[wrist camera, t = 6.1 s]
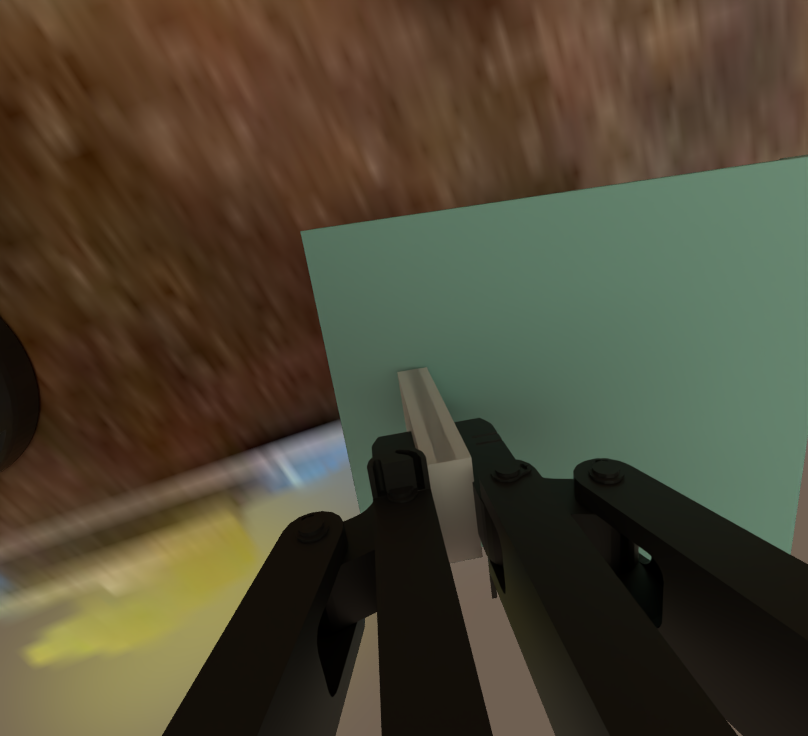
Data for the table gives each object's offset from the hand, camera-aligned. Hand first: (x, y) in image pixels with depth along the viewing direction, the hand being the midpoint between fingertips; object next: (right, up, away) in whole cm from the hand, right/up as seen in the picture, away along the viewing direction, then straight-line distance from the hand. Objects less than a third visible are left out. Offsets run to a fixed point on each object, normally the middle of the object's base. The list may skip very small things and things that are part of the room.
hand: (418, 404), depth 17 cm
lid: (+4, +1, +1) cm, 4 cm away
